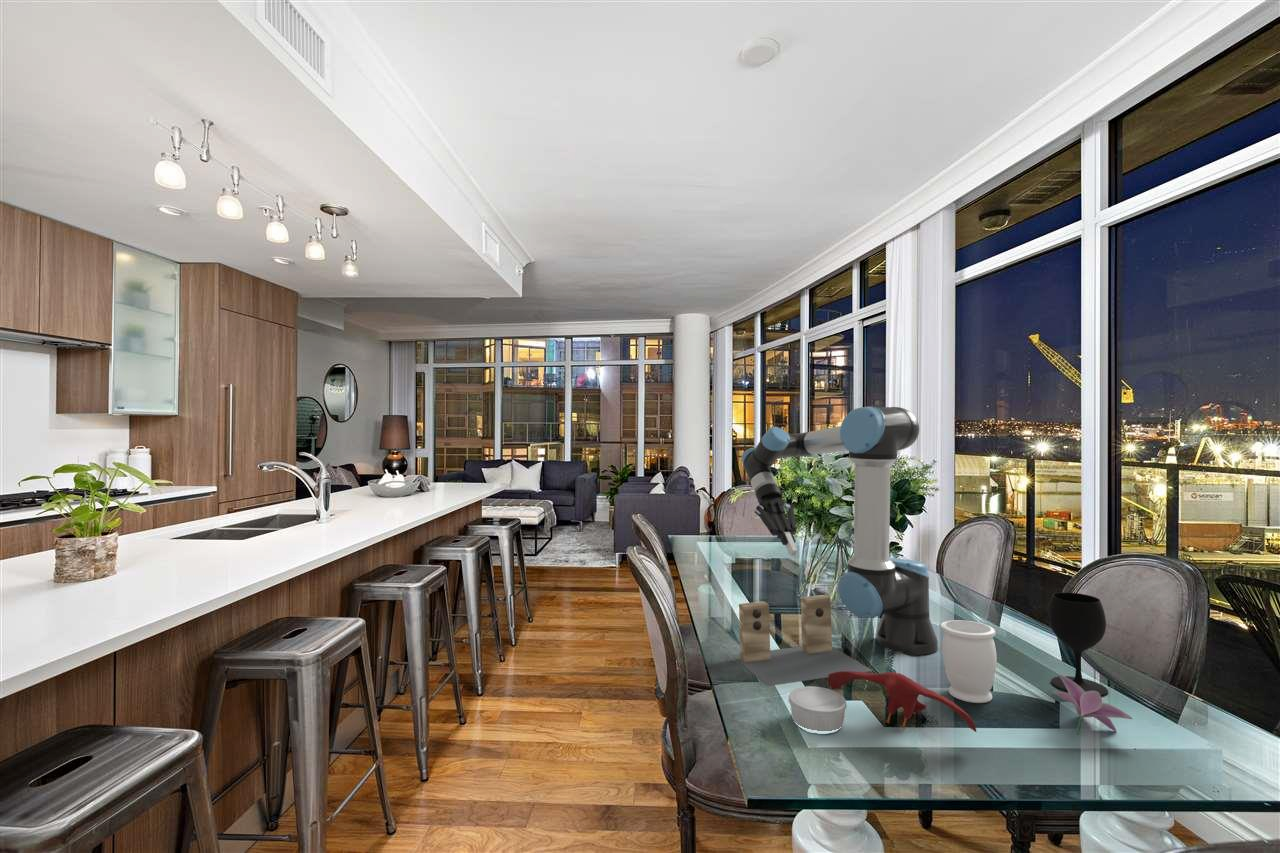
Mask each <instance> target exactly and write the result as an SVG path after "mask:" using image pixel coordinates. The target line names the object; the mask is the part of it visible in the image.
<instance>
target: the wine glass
mask: <svg viewBox="0 0 1280 853" xmlns="http://www.w3.org/2000/svg"><path fill="white" fill-rule="evenodd" d="M1048 604H1049V605H1048V612H1047V613H1048V614H1047V615H1048V621H1049V625H1050V628H1051V630H1052V631H1053V632H1052V633H1054V634H1055V636H1056V637H1057V638H1058V639H1059V640H1060V641H1061V642H1062V643H1063V644H1064V645H1065V646H1066V647H1068V648H1070V649H1071V650H1072V651H1073V653H1074V654H1073V655H1074V660H1075V675H1074V676H1072V675H1069V676H1066V675H1064V676H1065V677H1067V678H1068V679H1070V680H1072V681H1073V682H1075V683H1076V684H1077V685H1079V686H1080V687H1081V688H1082V689H1083V690H1084V691H1085V692H1087V691H1097V692H1099V694H1100V696H1101V698H1102V697H1105V696H1108V695H1109V690H1108V687H1106V686H1104V685H1103V684H1101V683H1099V682H1096V681H1095V680H1094V681H1093V680H1090V679H1087V678H1083V675H1082V655H1083V652H1085V651H1087V650H1089V649H1091V648H1093V647H1094V646H1096V645H1097V644H1098V643H1099V642H1100V641H1101V640H1103V637H1104V636H1105V633H1106V628H1107V619H1106V618H1107V617H1106V613H1105V609H1104V607H1103V604H1102V602H1101V599H1100V598H1098V597H1095V596H1092V595H1088V594H1083V593H1077V592H1054V593H1053V594H1052V595H1051V597H1050V601H1049V603H1048ZM1050 682H1051V685H1053V687H1055V688H1056V689H1058V690H1060V691H1061V692H1066V693H1069V692H1068V690H1067V688H1066V686H1065V684H1064V683H1063V681H1062V680H1061V678H1060V676H1059V675H1058V676H1055V677H1052V678H1051V679H1050Z"/></svg>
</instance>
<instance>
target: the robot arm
mask: <svg viewBox="0 0 1280 853" xmlns="http://www.w3.org/2000/svg"><path fill="white" fill-rule="evenodd" d="M919 424H920V423H919V421H918V418H917V416H915V415H914V414H913V412H911V411H910V410H908V409H907V408H903V407H900V406H891V407H890V406H871V405H870V406H864V407H863V406H862V407H857V408H853V409H852V410H851V411H849V413H848V414H847V415H845V417H844V418H843V419H842V422H841V424H840V425H839V426H833V427H829V428H823V429H816V430H812V431H806V432H800V433H788V432H787V431H786V430H785V429H783V428H781V427H780V428H779V427H778V426H772V427H770V428H768V430H767V431H766V432H765V433H764V435H762V437H761V439H760V440H759V442H758V444H757V445H756V446H755V447H750V448H748V449H746V451H743V452H742V454H741V462H742V465H743V469H744V471H745V473H746V475H747V478H748V480H749V483H750V484H751V487H752V490H753V492H754V494H755V497H756V499H757V501H758V504H759V505H756V507H755V510H754V512H753V513H755V515H756V516H758V517H759V518H760V519H761V522H762V523H763V524H764V525H765V527H766V528H767V530H768V531H769V533H770V534H771V535H772V536H773V537H774V536H776V538H777V539H778V540H780V542H781V544H782V545H783V546H785V549H786V550H787V553H788V555H789V557H794V556H796V554H797V552H798V551H799V550H798V548H797V546H796V542H797V541H796V537H795V536H794V535H795V533H796V531H797V529H798V527H797V522H796V515H795V511H794V509H795V504H794V503H791V504H788V503H787V502H786V500H784V498H783V495H782V492H781V490H780V487H779V485H778V483H777V481H776V479H775V476H774V473H773V472H772V470H771V468H772V466H773V465H774V463H775V462H776V461H777V459H779V458H791V457H792V458H795V457H796V458H797V457H813V456H815V455H821V454H822V455H823V454H829V453H830V454H831V453H838V452H844V451H846V452H847V451H848V459H849V460H850V461H851V462H852V463H853V464H854V514H853V515H854V519H853V520H854V521H853V523H854V524H853V526H854V527H853V533H854V534H853V555H852V556H851V557H850V558H849V559H848V560H847V572H845V573H844V574H843V575H842V576H840V577H839V579H838V583H837V591H838V597H839V599H840V601H841V602H842V604H843V605H844V606H845V608H846V609H847V610H848V611H849V613H851V614H853V615H854V616H856V617H858V618H864V619H866V618H876V617H879V616H881V615H882V616H881V619H880V622H879V625H878V629H877V633H876V642H877V643H878V645H880V646H882V647H884V648H885V649H888V650H891V651H894V652H895V651H896V652H900V653H902V654H905V655H912V656H913V655H914V656H919V655H920V656H921V655H929V654H933V653H935V652H937V651H938V649H939V647H938V646H939V644H938V643H939V642H938V641H939V640H938V637H937V635H936V633H935V630H934V627H933V624H932V621H931V618H930V591H929V590H930V588H929V585H930V584H929V582H930V581H929V580H930V577H929V572H928V571H929V568H928V567H927V565H926V564H925V563H923V562H921V561H916V560H911V559H904V558H898V557H897V558H896V557H890V530H891V529H890V526H891V525H890V524H891V522H890V520H891V519H890V518H891V517H890V516H891V512H890V511H891V466H892V465H893V464H894V463H895V462H897V461H898V451H902V450H905V449H908V448H910V447H911V446H913V444H915V442H916V441H917V439H918V437H919V435H920V425H919ZM810 446H811V448H810ZM785 511H786V513H785Z"/></svg>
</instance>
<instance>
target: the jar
mask: <svg viewBox="0 0 1280 853" xmlns="http://www.w3.org/2000/svg"><path fill="white" fill-rule="evenodd" d="M941 630H942V631H943V632H944V633H943V637H942V642H941V653H942V659H943V660H942V661H943V665H944V670H945V671H944V672H945V675H946V677H947V681H948V682H949V685H950V686H949V688H948V693H949V694H950V695H951V696H952V697H953V698H955V699H958V700H960V701H963V702H966V703H972V704H985V703H989V702H991V701H992V699H993V694H992V693H991V690H992V688H993V685H994V682H995V674H996V671H997V649H996V645H995V641H994V637H995V636H996V629H995V628H994V627H992V626H991V625H989V624H986V623H982V622H978V621H971V620H964V619H963V620H961V619H958V620H957V619H956V620H955V619H954V620H946V621H944V622H942V623H941Z"/></svg>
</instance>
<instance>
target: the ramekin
mask: <svg viewBox="0 0 1280 853" xmlns="http://www.w3.org/2000/svg"><path fill="white" fill-rule="evenodd" d="M788 702H789V704H790V710H791V717H792V721H793V720H794V721H795V722H796V723H797V724H798V725H800V726H802V727H804V728H807V729H811V730H817V731H832V730H836V729H839V728H840V727H841V728H842V727H843V725H844V721H845V714H846V709H847V699H846V698H845V697H844V696H843V695H842V694H841V693H839V691H838V692H837V691H835V690H834V689H831V688H827V687H826V688H825V687H821V686H810V685H809V686H808V685H807V686H800V687H797V688H794V689H793V690H791V691H790V692H789V693H788ZM794 721H793V722H794ZM795 722H794V723H795Z"/></svg>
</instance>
